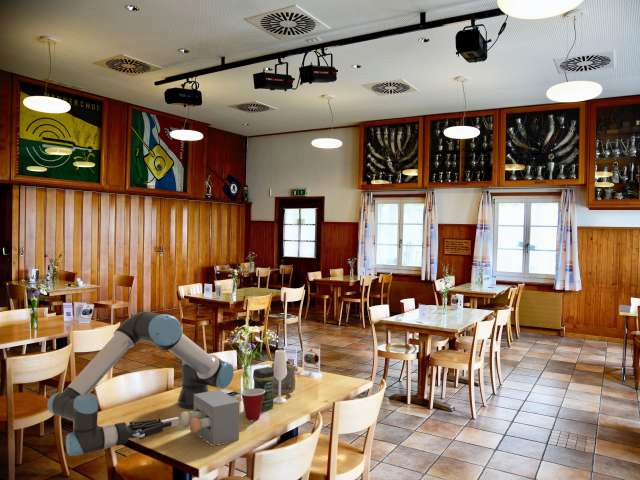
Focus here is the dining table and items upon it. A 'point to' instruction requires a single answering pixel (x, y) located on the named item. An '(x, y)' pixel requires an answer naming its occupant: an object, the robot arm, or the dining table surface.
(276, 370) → the champagne flute
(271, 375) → the coffee jar
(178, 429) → the dining table surface
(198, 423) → the terracotta knob
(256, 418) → the plastic cup
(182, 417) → the ivory knob
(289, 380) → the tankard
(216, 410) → the block
